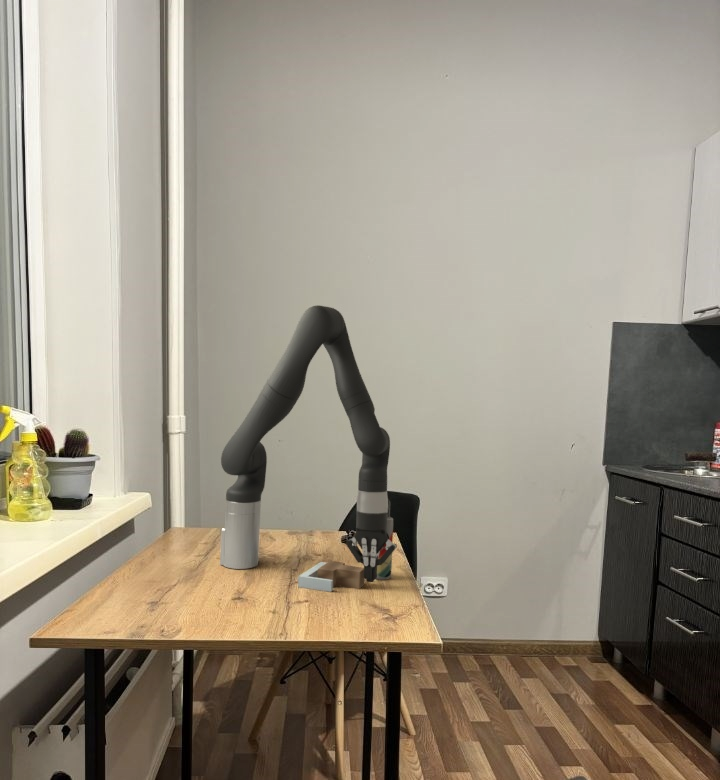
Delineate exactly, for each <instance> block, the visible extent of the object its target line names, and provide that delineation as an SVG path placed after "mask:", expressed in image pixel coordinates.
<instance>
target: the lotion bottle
mask: <svg viewBox="0 0 720 780" xmlns="http://www.w3.org/2000/svg"><path fill="white" fill-rule="evenodd" d="M387 533H388V535H389V540H390V541H391V542H392V543H394V542H393V540H394V538H393V537H394V535H393V534H394V518H393V517H391V501H390V499H389V498H388V517H387ZM386 551H387V550H386V544H385V545H384V546H383V548H382V549H381V550H380V553H379V557H378V559H380V558H381V557H382V556H383V554H384V553H385V552H386ZM392 563H393V553H392V554H391V555H390V556H389V557H388V558H387V560H386V561H385V562H384V563H383V564H382V565H377V577H376V579H375V580H378V581H379V580H380V581H384V580H389V579H390V578H391V577H392Z"/></svg>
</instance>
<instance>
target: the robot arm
mask: <svg viewBox="0 0 720 780" xmlns="http://www.w3.org/2000/svg"><path fill="white" fill-rule="evenodd" d="M322 345H323V347H324V348H325V350H326V352H327V353H328V356H329V358H330V360H331V364H332V366H333V371H334V379H335V386H336V390H337V394H338V398H339V400H340V402H341V404H342V407H343V409H344V411H345V413H346V416H347V418H348V420H349V424H350V428H351V431H352V435H353V437H354V442H355V444H356V446H357V448H358V450H359V451H360V452H361V453H362V458H361V459H362V460H361V467H360V468H359V470H358V486H357V487H358V490H357V496H356V497H357V498H356V518H355V519H356V520H355V521H356V526H355V528H356V529H355V532H354V534H353V536H352V538H350V539H348V540H346V541H345V545H346V547H347V548H348V550H349V551H350V552H351V554H352V556H353V557H354V559H355V561H356V562H357V563H359V564H362V565H363V566H364V567H363V568H364V578H365V583H366V582H367V583H368V582H369V583H373V582H374V581H375V580H377V579H376V577H377V565H382V564H383V563H384V562H385V561H386V560H387V558H388V557H389V556H390V555H391V554H392V555H393V553H394V551H395V550H396V549H397V548H398V544H397V543H395V542H391V541H390V540H389V535H388V533H387V517H388V499H389V498H388V466H389V459H390V449H391V439H390V435H389V433H388V431H387V430H386V429H384V428H383V427H382V426H380V424H379V421H378V419H377V416H376V414H375V409H376V408H375V405H374V403H373V400H372V397H371V395H370V393H369V391H368V388H367V386H366V383H365V381H364V379H363V377H362V374H361V372H360V369H359V366H358V363H357V361H356V360H357V359H356V358H355V354H354V351H353V348H352V344H351V341H350V336H349V331H348V329H347V326H346V321H345V318H344V316H343V314H342V313H341V312H340V311H339V310H338V309H336V308H334V307H330V306H325V305H324V306H323V305H313V306H310V307H309V308H307V309H305V311H304V312H303V313H302V315H301V316H300V318H299V321H298V323H297V324H296V327H295V329H294V332H293V333H292V336H291V338H290V340H289V343H288V344H287V346H286V348H285V350H284V352H283V354H282V355H281V357H280V359H279V360H278V362H277V363H276V366H275V367H274V369H273V370H272V372H271V374H270V375H269V376H268V378H267V380H266V382H265V384H264V385H263V387H262V389H261V390H260V393H259V394H258V396H257V397H256V400H255V401H254V403H253V404H252V406H251V408H250V410H249V411H248V413H247V414H246V416H245V418H244V419H243V420H242V422H241V424H240V425H239V427H238V428H237V429H236V431H235V432H234V434H233V435H232V436H231V437H230V439H229V440H228V442H226V444H225V446H224V447H223V450H222V453H221V457H220V464H221V468H222V469H223V471H224V473H226V474H227V475H229V476H237V479H236V481H235V482H234V483H233V484H232V485H231V486H230V487H229V488H227V490H226V492H225V493H226V494H225V510H224V511H225V514H224V515H225V517H224V527H222V528H221V530H220V531H221V532H220V552H219V553H220V554H219V555H220V556H219V557H220V558H219V566H224V567H226V568H228V569H233V570H234V569H235V570H236V569H237V570H238V569H239V570H243V569H244V570H245V569H251V568H255V567H257V566H258V565H259V555H260V554H259V552H260V535H261V534H260V533H261V532H260V529H261V507H262V504H261V503H262V494H263V492H264V489H265V485H266V484H265V483H266V475H267V463H268V461H267V460H268V456H267V452H266V451H267V450H266V448H265V446H264V444H263V443H262V442H261V440H262V439H263V438H264V437H265V436H266V435H267V434H268V433H269V432H270V431H271V430H272V429H274V428H275V427H276V426H277V425H279V424H280V422H282V421H283V420H284V419H285V418H286V417H287V416H288V415H289V414H290V413H291V411H292V410H293V409H294V407H295V405H296V403H297V402H298V400H299V398H300V397H301V395H302V393H303V391H304V387H305V383H306V377H307V372H308V369H309V365H310V364H311V362H312V360H313V359H314V357H315V355H316V354H317V352H318V351H319V350H320V348H321V347H322ZM385 544H386V550H387V551H386V552H385V553H384V554H383V556H382V557H381V558H380V559H378V557H379V553H380V550H381V549H382V548H383V546H384V545H385ZM360 549H361V550H362V551H361V550H360Z"/></svg>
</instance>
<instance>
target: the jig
mask: <svg viewBox="0 0 720 780" xmlns="http://www.w3.org/2000/svg"><path fill="white" fill-rule="evenodd" d="M326 563H327V562H325V561H319V563H317V564H316V565H314V566H312V567H311V568H309V569H308V570H306V571H303V573H301V574H300V575H298V577H297V580H298V581H297V587H298V588H304V589H309V590H316V591H322V592H323V591H324V592H330V593H331V592H333V589H334V587H333V580H330V579H323V578H318V569H319V568H320V567H322V566H323V565H325V564H326Z"/></svg>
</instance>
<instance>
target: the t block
mask: <svg viewBox="0 0 720 780" xmlns="http://www.w3.org/2000/svg"><path fill="white" fill-rule="evenodd" d="M318 578H323V579H330V580H333V588H335V587H337V586H338V587H344V588H350V589H356V590H360V589H361V588H362V587H363V586H365V582H366V579H365V578H364V567H361V566H353V565H346V563H345V562H343V561H336V560H329V561H327V562H326V564H325V565H323V566H322V567H320V568H319V569H318Z"/></svg>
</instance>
